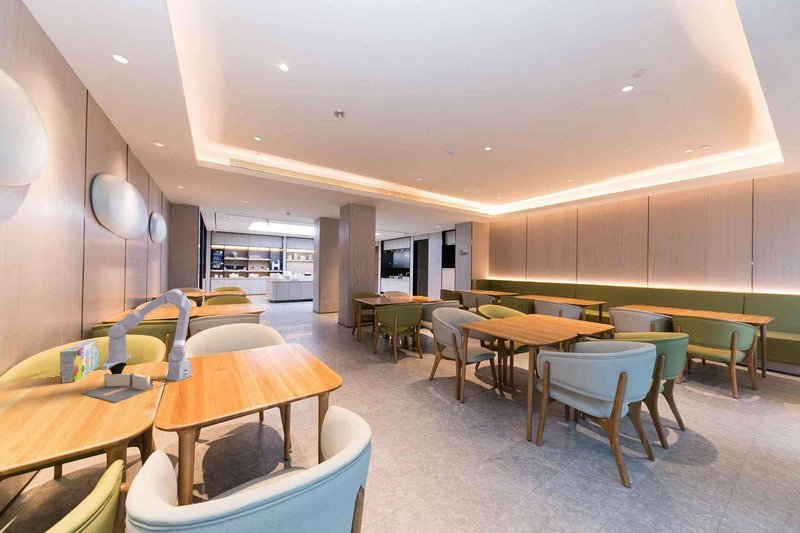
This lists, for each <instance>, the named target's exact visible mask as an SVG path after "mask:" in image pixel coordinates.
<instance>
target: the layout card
mask: <svg viewBox="0 0 800 533" xmlns="http://www.w3.org/2000/svg"><path fill="white" fill-rule="evenodd" d="M154 380H155V379H153V378H150V389H152V388H153V386H154V385H153V384H152V383H153V381H154ZM164 382H165V385H164V386H166V385H167V384H169V382H166V381H164ZM150 389H149V391H151V390H150ZM152 390H153V389H152ZM145 391H147V392H149V391H148V390H144V389H140V388H136V387H132V385H129V386H106V387H104V385H103V386H100V387H96V388H94V389H90V390H87V391H83V392H81V395H84V396H88V397H92V398H96V399H98V400H99V399H100V400H102V401H107V402H111V403H114V404H115V403H119V402H121V400H122V401H124V399H125V400H127V399H129V397H130V398H132V396H133V397H135V396H134V395H136V396H138V395H141V394H143V392H144V393H146V392H145ZM140 393H141V394H140ZM137 394H138V395H137Z"/></svg>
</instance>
